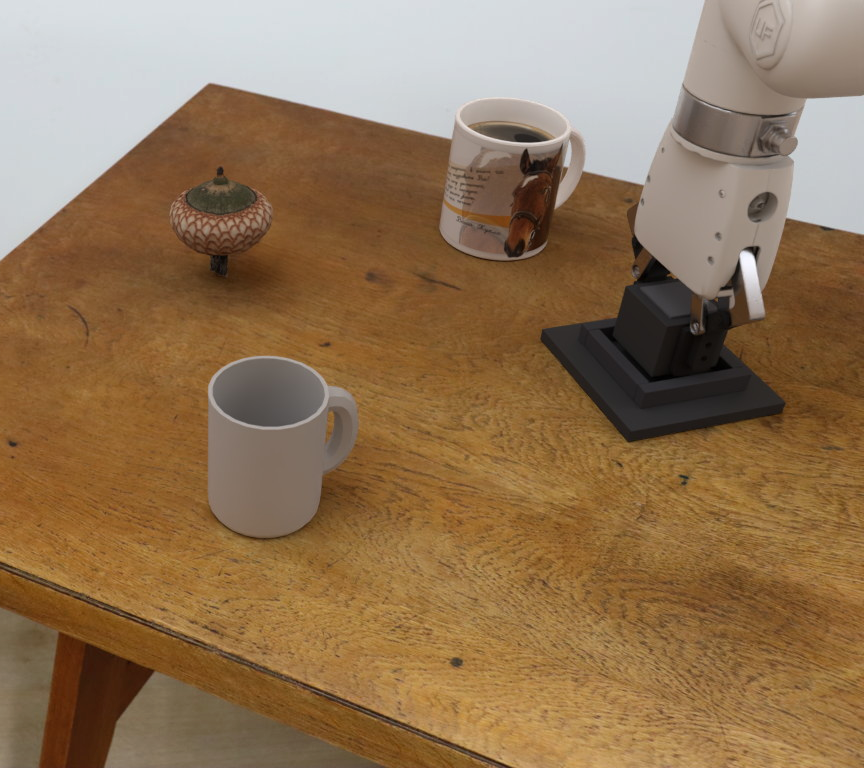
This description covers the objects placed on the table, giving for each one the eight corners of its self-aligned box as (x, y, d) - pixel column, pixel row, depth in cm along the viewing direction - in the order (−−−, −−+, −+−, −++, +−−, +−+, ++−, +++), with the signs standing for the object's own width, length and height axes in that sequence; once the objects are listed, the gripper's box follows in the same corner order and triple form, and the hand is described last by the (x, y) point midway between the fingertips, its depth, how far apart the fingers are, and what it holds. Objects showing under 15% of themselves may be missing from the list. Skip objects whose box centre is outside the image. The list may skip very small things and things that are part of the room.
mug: (444, 198, 106) (460, 87, 99) (571, 215, 104) (596, 103, 97) (434, 252, 97) (451, 135, 91) (572, 272, 96) (600, 154, 89)
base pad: (782, 413, 81) (793, 385, 80) (627, 442, 78) (636, 414, 76) (681, 317, 91) (689, 291, 89) (539, 339, 87) (545, 312, 86)
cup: (190, 480, 72) (189, 371, 67) (326, 443, 76) (336, 336, 71) (234, 554, 67) (236, 442, 62) (378, 510, 71) (392, 400, 66)
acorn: (289, 284, 92) (295, 175, 86) (204, 313, 88) (205, 201, 82) (234, 241, 97) (236, 135, 91) (152, 267, 93) (148, 158, 87)
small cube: (716, 366, 82) (734, 313, 79) (651, 377, 80) (668, 324, 77) (673, 325, 86) (690, 273, 83) (611, 335, 84) (626, 283, 81)
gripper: (874, 172, 66) (779, 409, 77) (706, 66, 79) (645, 281, 90) (769, 185, 64) (687, 426, 75) (614, 73, 77) (563, 293, 88)
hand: (665, 345), depth 83 cm, fingers closed on small cube, 5 cm apart
